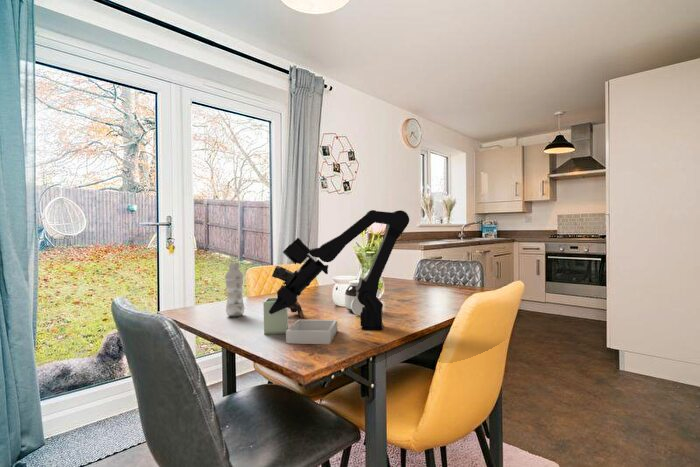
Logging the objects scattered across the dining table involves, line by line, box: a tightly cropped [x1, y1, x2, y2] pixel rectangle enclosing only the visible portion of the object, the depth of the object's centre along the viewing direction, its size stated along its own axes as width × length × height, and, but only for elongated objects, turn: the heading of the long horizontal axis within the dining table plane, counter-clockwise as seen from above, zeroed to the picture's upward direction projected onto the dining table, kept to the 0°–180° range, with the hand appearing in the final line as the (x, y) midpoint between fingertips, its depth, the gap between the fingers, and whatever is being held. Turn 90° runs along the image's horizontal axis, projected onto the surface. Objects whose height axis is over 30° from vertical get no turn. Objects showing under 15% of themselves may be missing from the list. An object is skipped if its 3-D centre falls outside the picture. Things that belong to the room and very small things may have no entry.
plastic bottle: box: [224, 261, 245, 318], centre depth 132 cm, size 6×7×20 cm
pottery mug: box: [287, 301, 304, 319], centre depth 131 cm, size 12×10×8 cm
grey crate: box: [285, 318, 338, 345], centre depth 105 cm, size 13×13×4 cm
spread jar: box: [344, 279, 365, 317], centre depth 135 cm, size 12×11×12 cm
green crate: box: [262, 297, 289, 336], centre depth 112 cm, size 6×6×10 cm
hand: (271, 310), depth 112 cm, fingers closed on green crate, 6 cm apart
